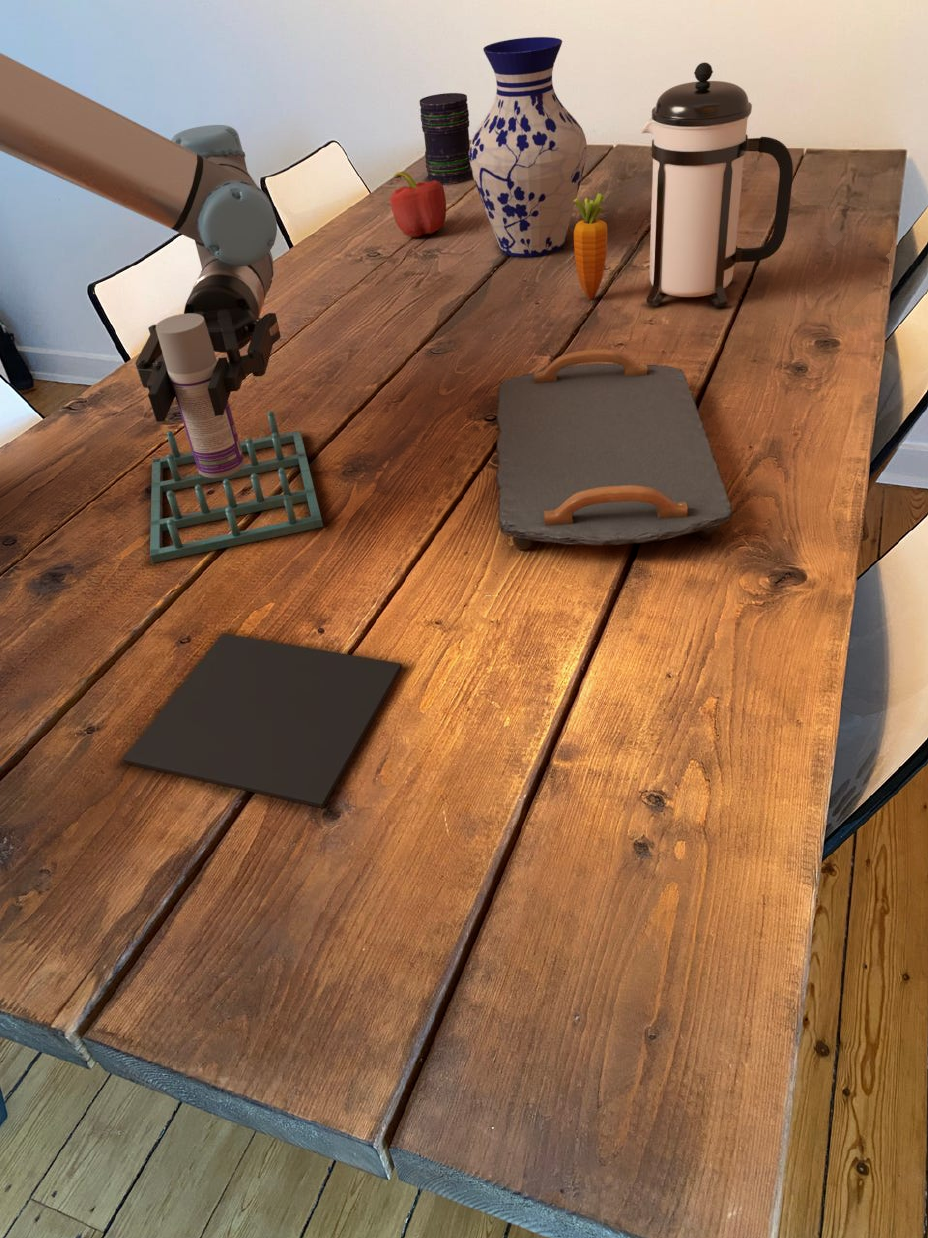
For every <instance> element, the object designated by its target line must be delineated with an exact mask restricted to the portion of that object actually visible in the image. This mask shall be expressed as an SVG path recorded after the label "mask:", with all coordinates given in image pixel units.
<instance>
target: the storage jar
mask: <svg viewBox="0 0 928 1238" xmlns="http://www.w3.org/2000/svg"><path fill="white" fill-rule="evenodd" d="M418 102H419V107H420V111H419V112H420V122H421V130H422V132H423V137H424V144H425V145H424V146H425V152H424V157H425V168H426V173H427V181H428V182H430V181H434V180H435V181H438V182H440V183H441V184H442V185H453V184H458V183H463V182H466V181H469V180H471V179H472V178H474V177H473V174H472V170H471V165H470V158H469V149H470V144H471V142H470V132H469V127H470V118H469V117H470V112H469V106H468V95H467V94H465V93H460V92H446V93H445V92H443V93H438V94H432V95H428V96H425V97H422V98H420V99H419V101H418Z"/></svg>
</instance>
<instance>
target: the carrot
mask: <svg viewBox="0 0 928 1238" xmlns="http://www.w3.org/2000/svg"><path fill="white" fill-rule="evenodd" d="M589 199H590V198H589V197H588V196H587V197H585V198H584V205H583V203H582V201H581V200H580V199H579V198H578V197H577V198H576V199H575V200H574V203H575V206H576V207H577V209H578V211H579V213H580V215H581V217H582V218H583V219H582V220H579V221H578V222H577V223H576V224H575V227H574V230H573V247H574V248H573V249H574V261H575V267H576V271H577V277H578V281H579V284H580V286H581V289H582V290H583V292H584V294H585V296H586V297H587V298H588V299H589V300H590V301H591V300H594V298H595V297H596V295H597V293H598V292H599V291H598V290H599V289H600V286H601V284H602V280H603V276H604V270H605V266H606V259H607V249H608V224H607V223H606V222H605V221H604V220H601V219H599V218H598V217H599V215H600V214H601V213H602V211H603V210H604V207H603V206H601V204H602V202H603V199H604V195H603V194H602V193H601V192H600V193H599V192H598V193H597V195H596V197H595V200H593V199H592V200H591V199H590V200H589Z"/></svg>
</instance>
